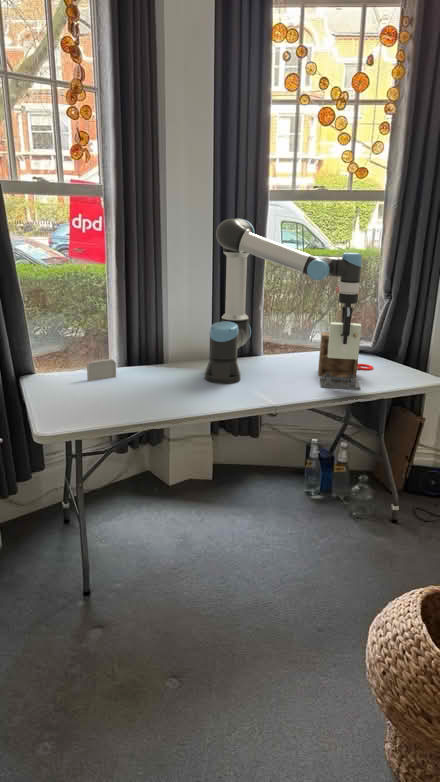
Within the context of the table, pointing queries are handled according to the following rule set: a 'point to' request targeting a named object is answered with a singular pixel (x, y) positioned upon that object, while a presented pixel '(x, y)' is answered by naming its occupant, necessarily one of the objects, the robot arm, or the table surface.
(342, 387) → the grey pegged base plate
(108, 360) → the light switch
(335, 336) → the door panel
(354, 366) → the cabinet
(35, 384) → the table surface
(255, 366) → the table surface
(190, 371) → the table surface
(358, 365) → the tow hook
